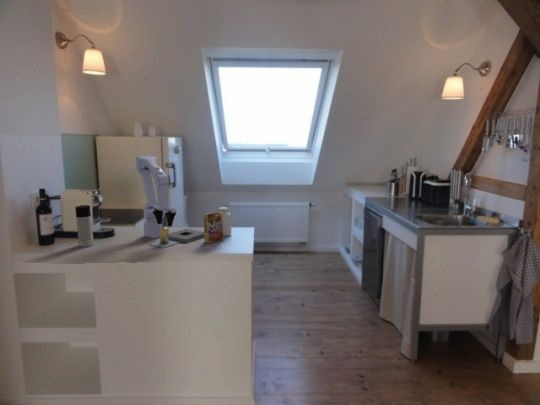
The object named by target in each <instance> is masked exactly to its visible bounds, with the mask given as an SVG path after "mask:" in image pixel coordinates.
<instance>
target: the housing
mask: <svg viewBox="0 0 540 405" xmlns="http://www.w3.org/2000/svg"><path fill="white" fill-rule="evenodd" d="M199 239H200V240H201V239H204V231H200V230H196V229H190V228H183V229H180V230H176V231H173V232H169V241H174V242H179V243H184V244H187V243H190V242H194V241H196V240H199Z"/></svg>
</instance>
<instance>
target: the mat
mask: <svg viewBox="0 0 540 405" xmlns="http://www.w3.org/2000/svg"><path fill="white" fill-rule="evenodd" d="M177 244H180V242H178V241H173V240H169V244H160V240H159V241H156V242H153V243H149V246H152V247H156V248H161V249H165V247H166V248H168V247H171V246H174V245H177Z"/></svg>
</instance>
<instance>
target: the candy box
mask: <svg viewBox="0 0 540 405" xmlns="http://www.w3.org/2000/svg"><path fill="white" fill-rule="evenodd" d="M203 232H204V237H203V240H204V243H206V244H211V243H217V242H223V241H224V236H223V214H222V212H220V211H212V212H211V211H210V212H203Z"/></svg>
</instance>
